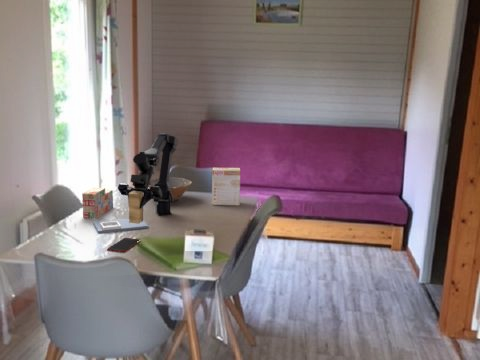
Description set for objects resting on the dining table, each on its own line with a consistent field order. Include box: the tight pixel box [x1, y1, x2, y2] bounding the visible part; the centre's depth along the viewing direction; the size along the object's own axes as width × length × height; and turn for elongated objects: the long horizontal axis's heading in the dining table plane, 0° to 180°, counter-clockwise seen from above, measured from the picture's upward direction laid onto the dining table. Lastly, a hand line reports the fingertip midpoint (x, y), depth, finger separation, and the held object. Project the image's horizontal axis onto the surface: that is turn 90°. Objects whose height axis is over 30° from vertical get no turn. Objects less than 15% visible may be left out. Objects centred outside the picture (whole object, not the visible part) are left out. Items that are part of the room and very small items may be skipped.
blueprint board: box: [92, 217, 149, 234], centre depth 219 cm, size 22×14×2 cm, turn 116°
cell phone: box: [106, 237, 140, 254], centre depth 194 cm, size 8×15×1 cm, turn 164°
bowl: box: [148, 176, 192, 202], centre depth 267 cm, size 25×25×10 cm
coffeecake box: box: [211, 166, 241, 206], centre depth 261 cm, size 15×7×20 cm, turn 92°
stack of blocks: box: [81, 187, 114, 219], centre depth 238 cm, size 21×6×12 cm, turn 172°
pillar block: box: [128, 191, 144, 224], centre depth 206 cm, size 4×4×13 cm
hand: (134, 207), depth 205 cm, fingers closed on pillar block, 4 cm apart
